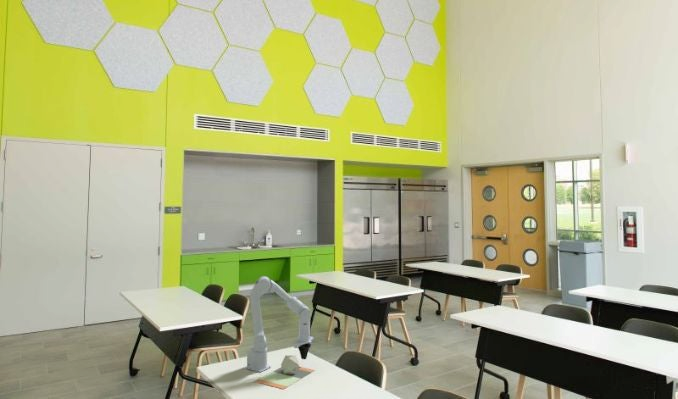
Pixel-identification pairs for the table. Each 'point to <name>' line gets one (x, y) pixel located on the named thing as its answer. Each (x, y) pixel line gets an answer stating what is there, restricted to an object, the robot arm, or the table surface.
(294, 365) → the die
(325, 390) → the table surface
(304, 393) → the table surface
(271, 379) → the mat
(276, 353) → the table surface
